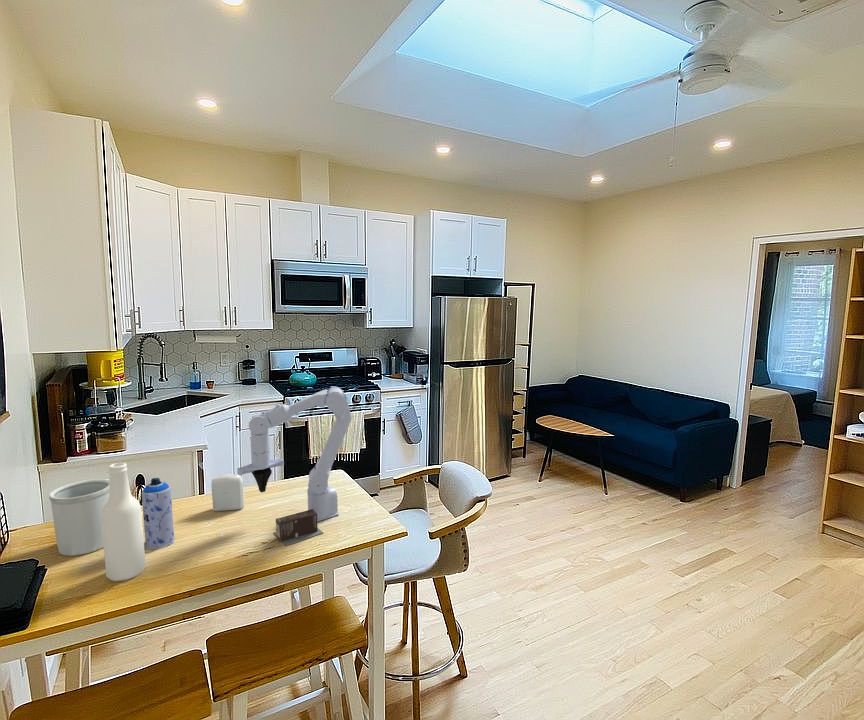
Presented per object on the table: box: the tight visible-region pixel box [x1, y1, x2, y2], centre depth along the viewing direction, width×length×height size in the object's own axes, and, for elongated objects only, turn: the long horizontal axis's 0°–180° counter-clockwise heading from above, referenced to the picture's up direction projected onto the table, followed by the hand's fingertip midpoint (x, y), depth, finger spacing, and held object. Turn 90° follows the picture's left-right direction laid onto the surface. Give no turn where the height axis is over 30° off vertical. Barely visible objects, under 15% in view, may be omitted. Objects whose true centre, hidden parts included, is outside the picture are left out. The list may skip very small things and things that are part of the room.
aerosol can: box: [141, 477, 176, 550], centre depth 139 cm, size 8×8×20 cm
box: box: [275, 509, 319, 542], centre depth 145 cm, size 6×4×12 cm
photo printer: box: [211, 473, 245, 512], centre depth 162 cm, size 10×4×12 cm, turn 99°
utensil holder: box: [48, 478, 109, 557], centre depth 138 cm, size 15×15×18 cm
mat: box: [273, 527, 324, 547], centre depth 146 cm, size 12×10×1 cm
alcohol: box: [101, 462, 146, 582], centre depth 123 cm, size 9×9×30 cm
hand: (262, 491), depth 153 cm, fingers closed
